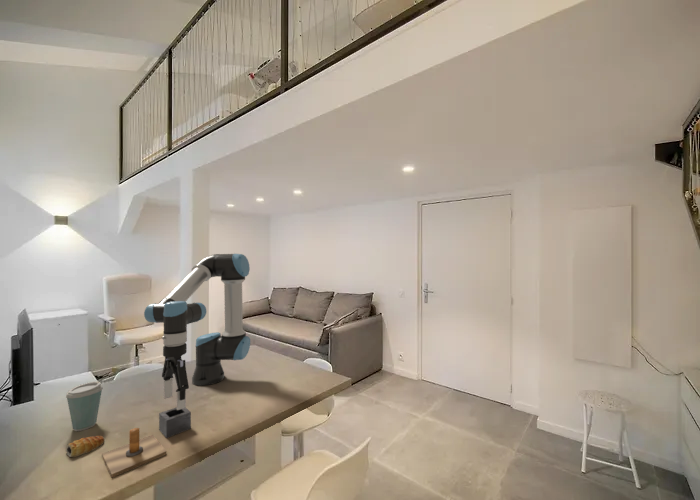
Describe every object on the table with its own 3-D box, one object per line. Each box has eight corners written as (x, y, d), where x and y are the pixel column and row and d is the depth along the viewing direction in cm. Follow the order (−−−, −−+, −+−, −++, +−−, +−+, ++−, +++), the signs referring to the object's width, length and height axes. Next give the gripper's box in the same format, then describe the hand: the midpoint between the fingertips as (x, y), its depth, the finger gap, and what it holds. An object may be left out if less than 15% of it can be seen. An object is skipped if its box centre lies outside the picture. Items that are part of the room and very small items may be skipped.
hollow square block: (159, 429, 112) (159, 413, 113) (182, 421, 118) (182, 405, 118) (166, 438, 107) (166, 420, 107) (190, 428, 113) (190, 411, 113)
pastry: (99, 439, 107) (99, 428, 108) (107, 445, 104) (107, 434, 104) (63, 453, 100) (64, 441, 100) (71, 461, 96) (71, 448, 96)
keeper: (102, 457, 97) (102, 431, 97) (153, 437, 107) (153, 414, 108) (111, 477, 88) (111, 449, 88) (166, 454, 98) (166, 428, 98)
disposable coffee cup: (71, 437, 108) (71, 394, 108) (60, 429, 114) (60, 388, 114) (107, 423, 117) (107, 383, 117) (95, 416, 123) (96, 378, 123)
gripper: (153, 340, 119) (152, 396, 118) (175, 352, 102) (175, 417, 101) (174, 337, 125) (173, 390, 124) (199, 347, 108) (198, 409, 107)
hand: (174, 402), depth 113 cm, fingers open, 13 cm apart
